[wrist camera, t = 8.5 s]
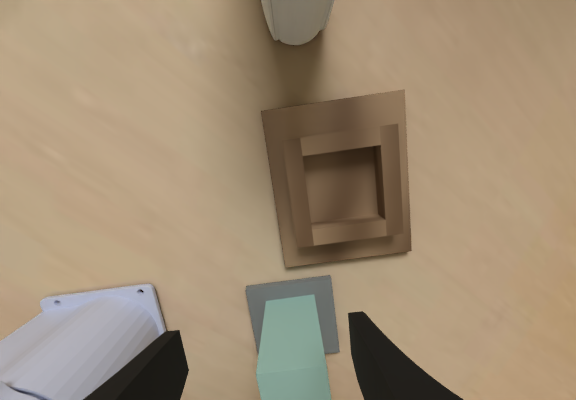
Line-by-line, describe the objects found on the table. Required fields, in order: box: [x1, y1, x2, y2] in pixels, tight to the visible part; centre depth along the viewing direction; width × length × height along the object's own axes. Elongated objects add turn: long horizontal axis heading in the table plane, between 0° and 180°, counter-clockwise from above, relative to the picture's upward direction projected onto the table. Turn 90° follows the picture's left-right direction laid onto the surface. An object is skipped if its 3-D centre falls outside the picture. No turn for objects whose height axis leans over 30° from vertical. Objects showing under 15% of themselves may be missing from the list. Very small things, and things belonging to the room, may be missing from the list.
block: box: [256, 295, 331, 400], centre depth 19 cm, size 4×4×7 cm
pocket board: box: [261, 90, 411, 268], centre depth 19 cm, size 10×12×2 cm
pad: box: [246, 275, 340, 355], centre depth 22 cm, size 7×7×1 cm
